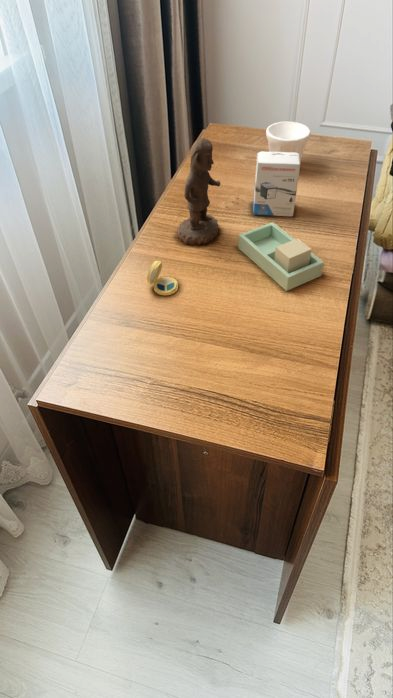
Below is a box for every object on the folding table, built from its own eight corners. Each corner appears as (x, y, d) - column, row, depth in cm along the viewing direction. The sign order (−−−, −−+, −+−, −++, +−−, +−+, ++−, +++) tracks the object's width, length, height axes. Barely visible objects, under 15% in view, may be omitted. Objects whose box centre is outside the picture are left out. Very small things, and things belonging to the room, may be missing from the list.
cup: (257, 162, 122) (260, 124, 115) (295, 156, 123) (300, 118, 116) (271, 182, 115) (275, 142, 108) (311, 176, 117) (318, 136, 110)
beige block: (308, 269, 92) (311, 249, 88) (286, 278, 90) (289, 258, 87) (294, 258, 94) (297, 238, 91) (273, 267, 92) (275, 246, 89)
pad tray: (271, 235, 101) (272, 221, 99) (321, 275, 92) (324, 262, 89) (238, 247, 98) (238, 234, 96) (286, 291, 89) (288, 277, 87)
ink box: (252, 215, 106) (256, 163, 97) (253, 203, 109) (256, 151, 101) (293, 217, 105) (301, 164, 96) (292, 204, 108) (300, 152, 100)
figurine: (204, 250, 98) (203, 151, 83) (172, 240, 100) (165, 142, 86) (225, 227, 103) (227, 131, 88) (193, 218, 106) (191, 122, 91)
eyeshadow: (170, 298, 88) (169, 276, 85) (146, 290, 90) (143, 268, 86) (182, 283, 91) (181, 261, 87) (158, 276, 93) (156, 254, 89)
